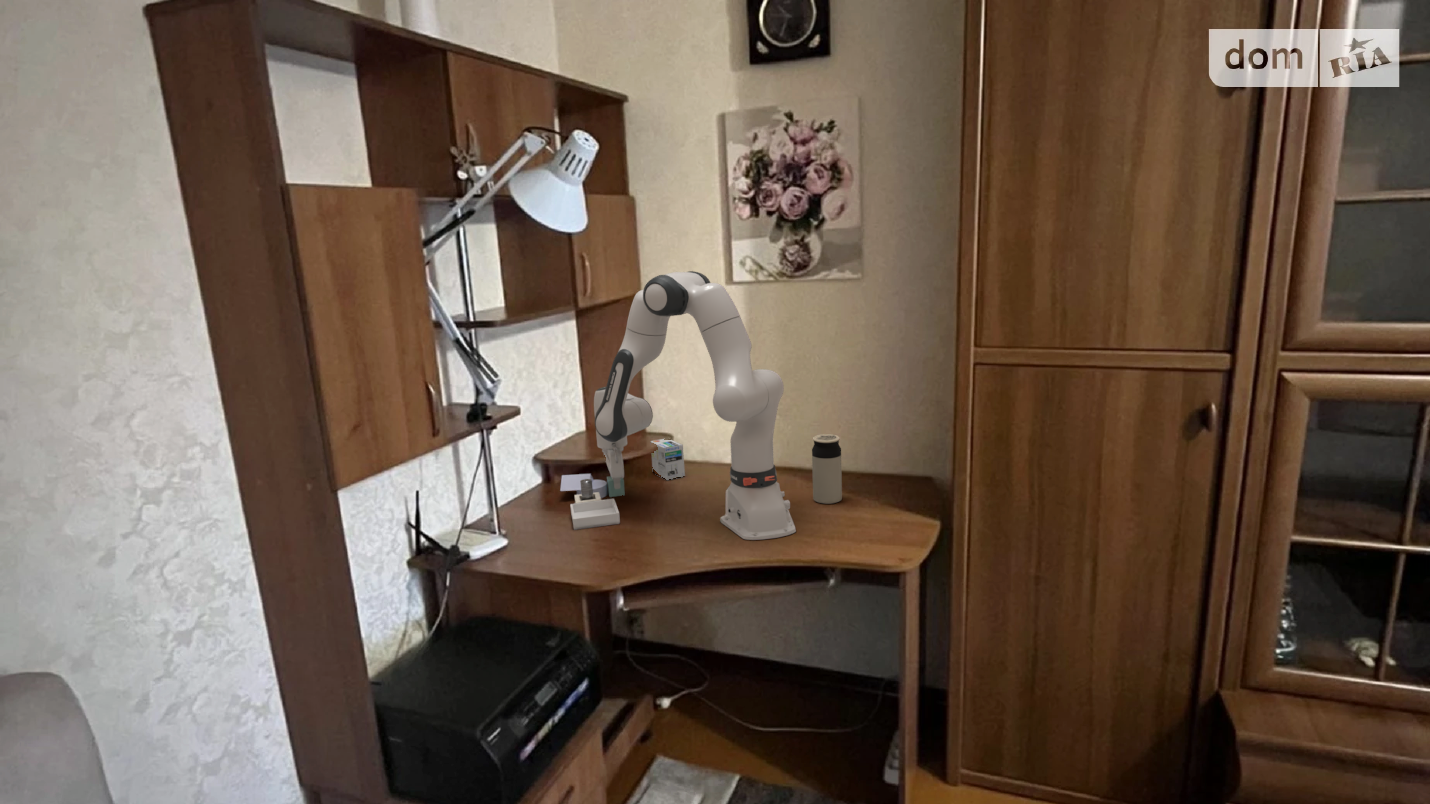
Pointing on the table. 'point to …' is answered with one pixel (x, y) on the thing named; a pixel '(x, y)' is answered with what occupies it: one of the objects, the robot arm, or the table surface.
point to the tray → (594, 514)
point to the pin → (586, 489)
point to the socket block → (579, 500)
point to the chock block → (612, 490)
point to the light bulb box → (668, 459)
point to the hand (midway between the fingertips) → (615, 484)
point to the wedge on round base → (574, 484)
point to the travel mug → (827, 469)
